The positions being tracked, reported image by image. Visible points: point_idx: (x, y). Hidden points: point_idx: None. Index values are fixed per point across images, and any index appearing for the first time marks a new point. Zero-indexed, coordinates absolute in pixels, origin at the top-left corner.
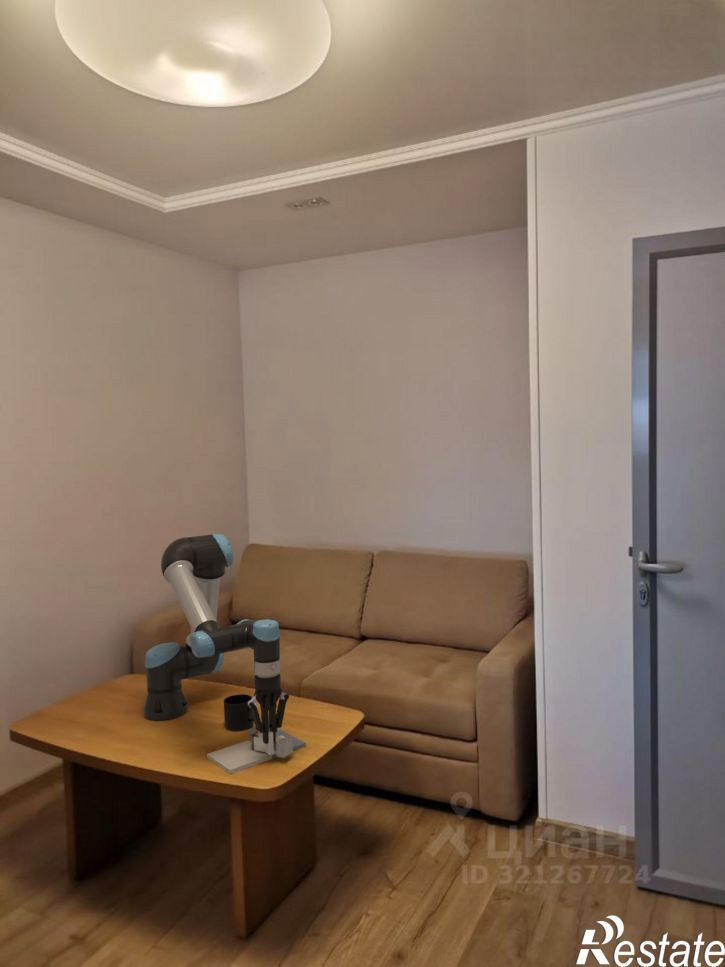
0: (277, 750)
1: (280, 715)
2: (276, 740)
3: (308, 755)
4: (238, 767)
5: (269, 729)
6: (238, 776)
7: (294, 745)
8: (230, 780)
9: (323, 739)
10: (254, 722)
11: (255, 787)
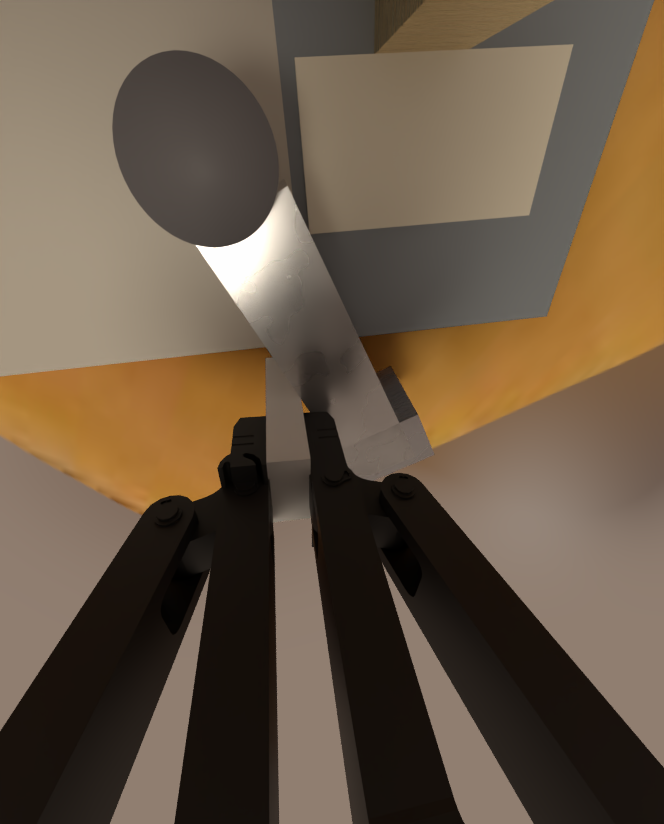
0: None
1: (441, 655)
2: (341, 430)
3: (462, 399)
4: (62, 367)
5: (494, 17)
6: (68, 408)
7: (482, 309)
8: (18, 422)
9: (658, 286)
10: (85, 610)
11: (141, 511)
